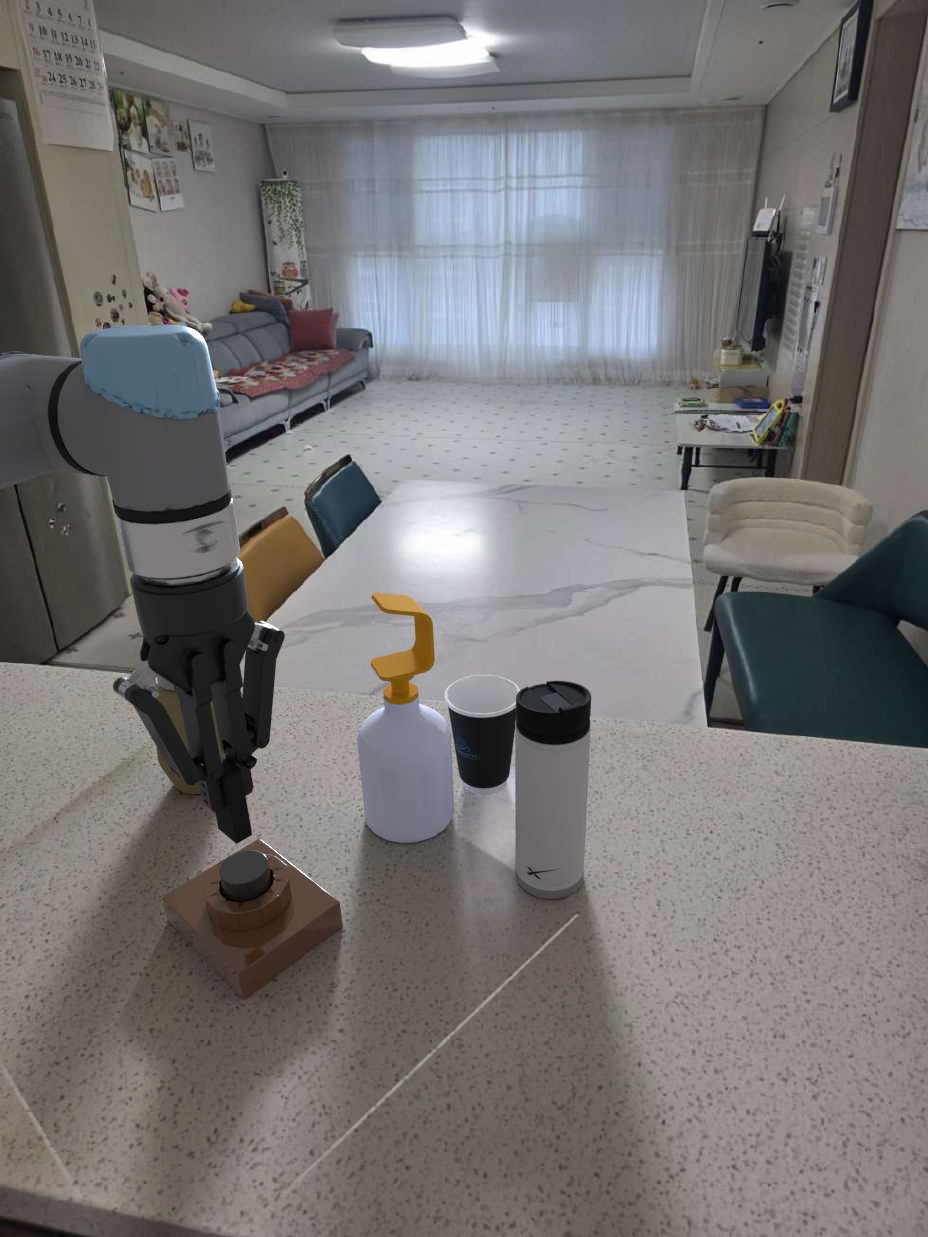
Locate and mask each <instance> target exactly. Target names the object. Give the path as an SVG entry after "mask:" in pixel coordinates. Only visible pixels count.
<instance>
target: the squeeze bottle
mask: <svg viewBox="0 0 928 1237" xmlns="http://www.w3.org/2000/svg"><path fill="white" fill-rule="evenodd" d="M156 679H157V682H156V684H157V686H158V688H159V690H158V691H159V693H160V694H159V696H158V697H157V698H156V699H157V700H158V701H159V702H160V703H161V704H162V705H163V706H164V708H165V710H166V711H167V713H168V715H169V717H170V719H171V720H172V722H173V724H174V726H175V728H176V730H177V731H178V733H179V735H180V737H181V739H182V741H183V743H184V744H185V746H186V748H187V750H188V752H189V747H188V742H187V737H186V732H185V727H184V722H183V717H182V712H181V707H180V702H179V698H178V695H177V694H176V692H175V690H174V687H173V684H171V683H170V682H168V681H167V680H166V679H164V678H163V677H161V676H160V675H158V674H157V675H156ZM210 704H211V709H212V715H213V720H214V726H215V731H216V737H217V742H218V748H219V753H220V757H221V756H223V757H224V758H226V756H225V753H223V752H222V750H221V744H220V739H219V734H218V728H217V723H216V718H215V712H214V707H213V702H212V701H211V702H210ZM155 746H156V745H155ZM156 754H157V756H156V757H157V761H158V764H159V766H160V768H161V770H162V771H163V773H165V775H166V776H167V778H168V779H169V780H170V782H171V783H172V785H173V786H174V787H175V788H176V790H178V791H180V792H181V793H183V794H189V795H199V794H200V795H201V791H200V787H199V782H197V783H196V784H194V785H188V784H186V783H185V782H184V781H183V780H181V779H180V778H179V777H178V776H177V775H175V774H174V773H173V772H172V771H171V770H170V769H169V767H168V766H167V764H166V762H165V760H164V759H163V757H162V755H161V753H160V752H159V750H158V748H157V746H156ZM189 754H190V752H189Z"/></svg>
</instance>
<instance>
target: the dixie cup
mask: <svg viewBox="0 0 928 1237" xmlns="http://www.w3.org/2000/svg"><path fill="white" fill-rule="evenodd" d="M520 690H521V689H520V687H519V686H518V685H517V684H516V683H515V682H513V681H512V680H510V679H508V678H505V677H502V676H499V675H494V674H493V675H492V674H474V675H469V676H465V677H462V678H459V679H457V680H455V681H454V682H452V683H450V684H449V685H448V687H447V688H446V689H445V691H444V695H443V699H444V702H445V705H446V706H447V709H448V715H449V716H448V717H449V721H450V727H451V732H452V733H451V735H452V739H453V745H454V751H455V757H456V762H457V768H458V775H459V778H460V780H461V782H462V785H463V787H464V788H465V789H466V791H469V792H470V793H472V794H475V795H480V796H487V795H494V794H497V793H499V792H500V791H502V790H503V789H505V787H506V785H507V782H508V779H509V777H510V774H511V773H510V772H511V764H512V757H513V749H514V743H515V721H516V695H517V693H518V692H519V691H520Z"/></svg>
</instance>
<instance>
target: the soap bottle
mask: <svg viewBox="0 0 928 1237" xmlns="http://www.w3.org/2000/svg"><path fill="white" fill-rule="evenodd" d="M371 600H372V601H373V602H374V603H375V604H376V606H377V607H378V609H380V611H381V612H383V613H385V614H390V615H398V616H409V617H414V618H413V620H414V637H415V640H414V644H413V646H411V648H410V649H408V650H407V649H406V650H404V651H400V652H395V653H391V654H386V655H381V656H378V657H377V656H376V657H373V658H372V659H371V660H370V666H371V668H372V670H373V671H374V673H375V674H376V676H377V677H378V678H379V680H381V681H384V682H389V684H388V685H386V686H385V687H384V689H383V691H382V692H383V696H382V697H383V706H382V707H380V708H378V709H377V710H375V711H373V713H371V714H370V715H369V716H368V717H366V719H365V720H363V722H362V723H361V726H360V730H359V732H358V735H357V738H356V742H357V743H356V744H357V753H358V754H357V755H358V761H359V772H360V781H361V790H362V800H363V810H364V811H363V812H364V817H365V822H366V825H367V826H368V827H369V829H370V830H371V831H372V833H373V834H375V835H376V836H378V837H379V838H382V839H384V840H385V841H389V842H393V843H400V844H406V843H409V844H410V843H419V842H422V841H426V840H429V839H432V838H434V837H435V836H437V835H438V834H440V833H441V832H443V831H445V829H446V828H447V827H448V825H449V824H450V823H451V821H452V819H453V816H454V811H455V801H454V800H455V798H454V796H455V795H454V776H453V773H454V772H453V751H452V733H451V730H450V728H449V725H448V723H447V721H446V719H445V717H444V716H443V715H442V714H440V713H439V712H438V711H437V710H435V709H433V708H431V707H430V706H427V705H425V704H421V703H420V695H419V689H418V686H417V685H416V684H415V683H413V682H410V681H411V680H412V679H414V677H415V676H416V675H421V674H425V673H427V672H428V671H429V672H430V670H431V669H432V668H433V667H434V664H435V660H436V658H435V640H434V638H435V636H434V623H433V618H432V617H430V615H429V614H428V613H427V612H426V611H425V610H424V609H423V607H421V606H420V605H419V603H418V602H417V601H416V600H415V599H414V598H413V597H411V596H410V595H406V594H397V593H386V592H372V594H371Z"/></svg>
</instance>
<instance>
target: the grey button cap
mask: <svg viewBox="0 0 928 1237" xmlns="http://www.w3.org/2000/svg"><path fill="white" fill-rule="evenodd" d="M234 853H235V854H234ZM234 853H232V854H233V855H232V854H231V855H229V856H230V857H229V856H227V857H228V858H227V857H226V858H227V859H226V858H225V859H226V860H225V861H224V862H223V863H222V865H221V867H220V870H219V874H220V879H221V884H222V889H223V893H224V895H225V896H226V898H228V899H229V900H231V901H233V902H246V901H250V900H255V899H257V898H259V897H260V896H262V895H263V894H265V893H266V892H267V890H268V889H269V887H270V885H271V875H270V869H269V863H268V859H267V857H266V856H265V855H264V854H263V853H261V852H258V851H253V850H247V851H241V852H238V853H236V852H234Z"/></svg>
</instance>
